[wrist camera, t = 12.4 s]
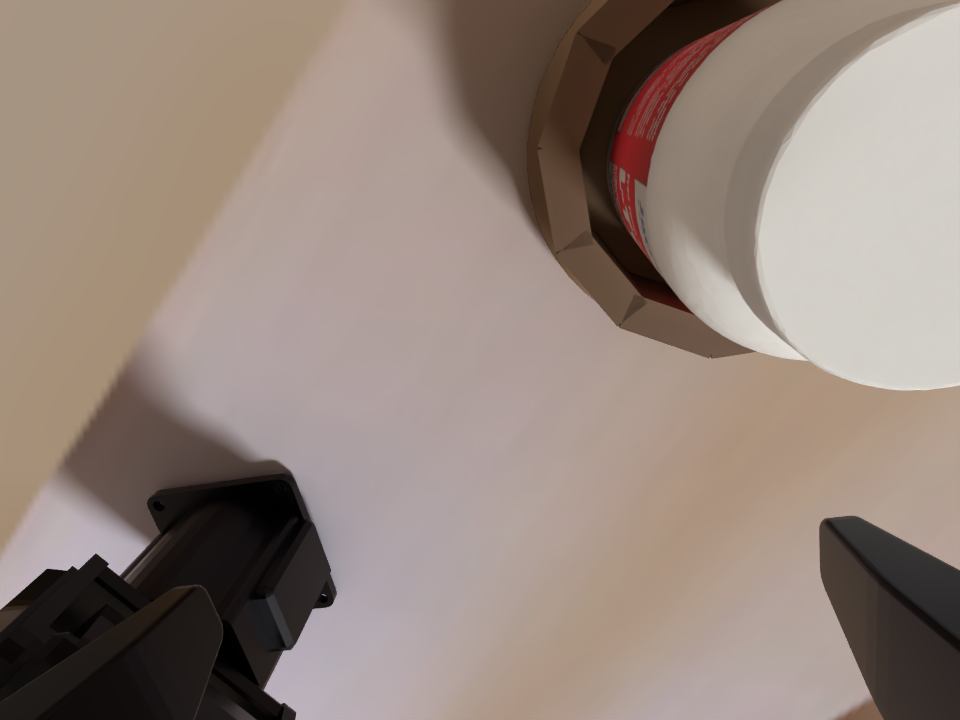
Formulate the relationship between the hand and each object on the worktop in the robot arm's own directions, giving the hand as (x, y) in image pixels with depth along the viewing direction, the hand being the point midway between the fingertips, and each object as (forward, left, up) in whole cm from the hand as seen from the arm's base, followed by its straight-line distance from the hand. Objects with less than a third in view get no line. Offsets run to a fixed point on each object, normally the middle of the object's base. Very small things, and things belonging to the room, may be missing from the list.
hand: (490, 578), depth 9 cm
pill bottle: (+6, +4, -12) cm, 14 cm away
